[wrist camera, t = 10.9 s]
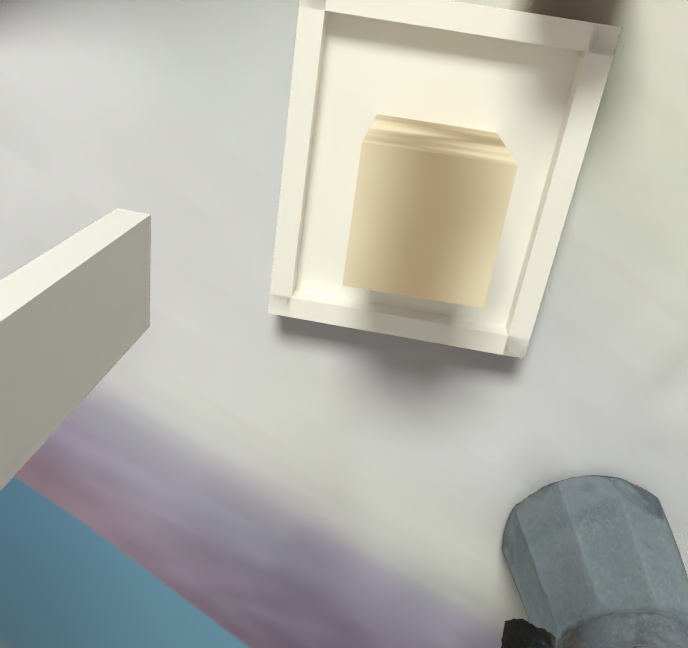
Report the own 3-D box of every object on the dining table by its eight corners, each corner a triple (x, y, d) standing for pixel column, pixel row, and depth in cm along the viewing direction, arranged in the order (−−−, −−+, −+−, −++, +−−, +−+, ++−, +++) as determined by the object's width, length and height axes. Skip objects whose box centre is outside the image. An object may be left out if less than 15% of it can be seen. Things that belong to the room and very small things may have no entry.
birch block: (496, 132, 27) (517, 165, 21) (470, 246, 29) (483, 308, 23) (376, 114, 27) (362, 141, 21) (360, 229, 30) (342, 285, 23)
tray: (608, 26, 26) (622, 27, 24) (518, 339, 32) (524, 358, 30) (310, -20, 27) (302, -23, 25) (276, 296, 33) (267, 313, 31)
